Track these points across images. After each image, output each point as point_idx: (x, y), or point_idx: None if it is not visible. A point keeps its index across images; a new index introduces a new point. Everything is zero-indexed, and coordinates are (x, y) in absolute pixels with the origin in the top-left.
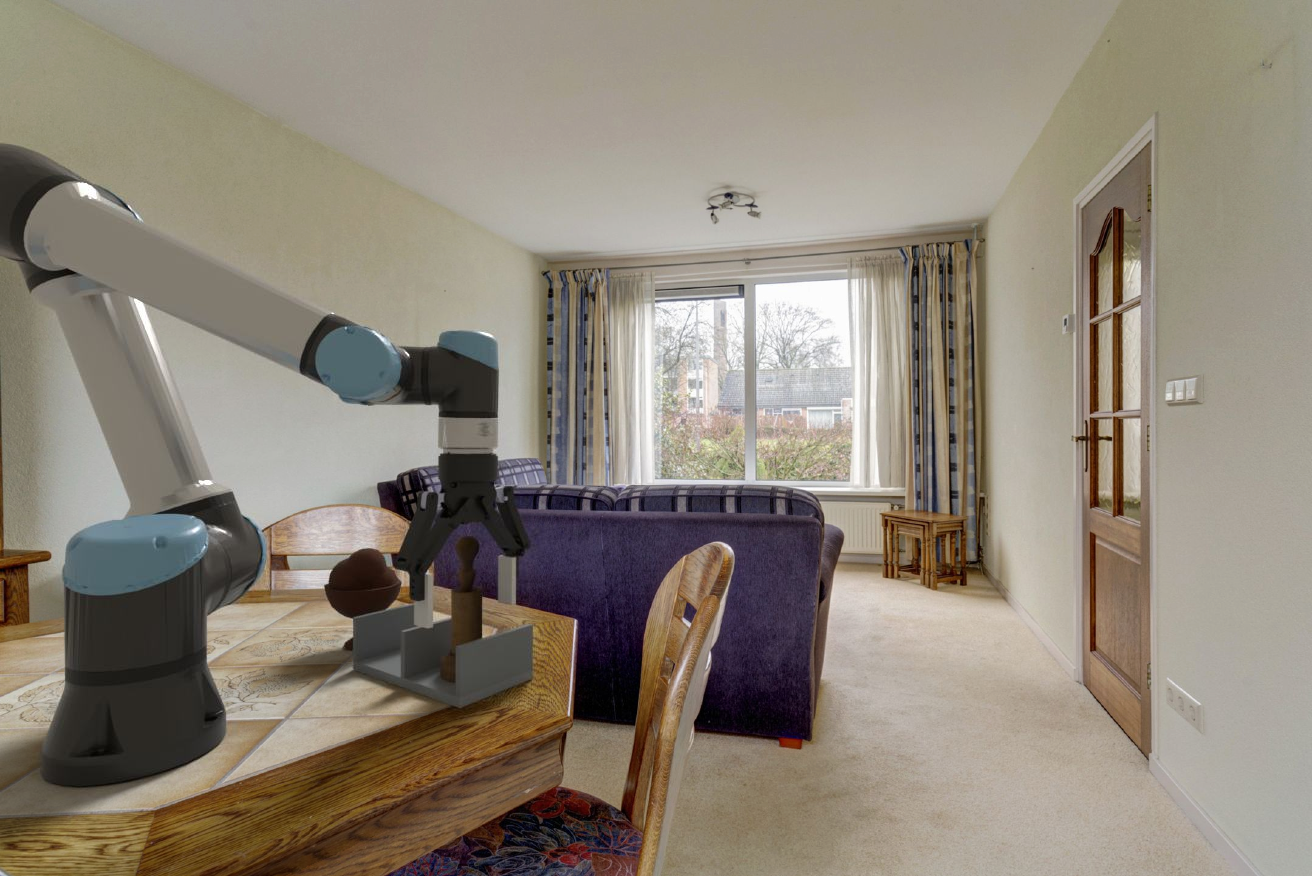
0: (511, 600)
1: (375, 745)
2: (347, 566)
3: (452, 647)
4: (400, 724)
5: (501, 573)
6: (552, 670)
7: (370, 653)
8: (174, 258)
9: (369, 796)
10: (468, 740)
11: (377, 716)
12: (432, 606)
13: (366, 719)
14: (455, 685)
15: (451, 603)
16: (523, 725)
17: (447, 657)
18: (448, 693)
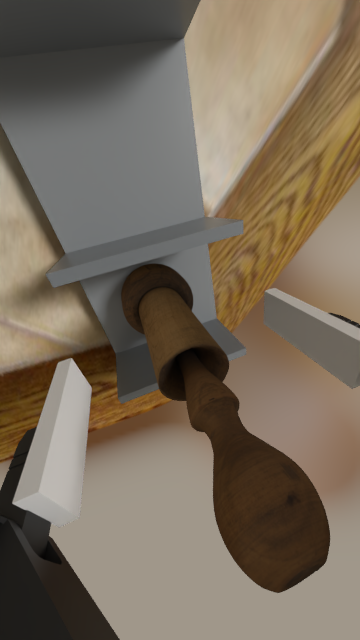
0: (269, 327)
1: (16, 392)
2: None
3: (140, 316)
4: (48, 361)
5: (316, 330)
6: (240, 308)
7: (7, 49)
8: None
9: (7, 453)
10: (101, 407)
11: (22, 331)
12: (87, 423)
13: (6, 333)
14: (127, 324)
15: (153, 354)
16: (149, 399)
17: (129, 311)
18: (111, 342)
